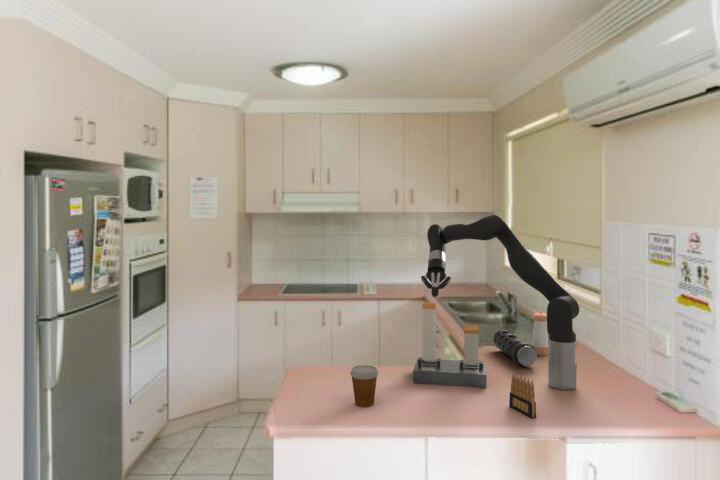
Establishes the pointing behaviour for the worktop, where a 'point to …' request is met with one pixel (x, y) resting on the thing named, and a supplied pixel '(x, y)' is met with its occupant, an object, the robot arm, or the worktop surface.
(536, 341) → the pepper shaker
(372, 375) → the disposable coffee cup
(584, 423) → the worktop surface
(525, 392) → the ammunition clip
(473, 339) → the lever near
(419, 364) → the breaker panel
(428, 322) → the lever far
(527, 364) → the muzzle brake
